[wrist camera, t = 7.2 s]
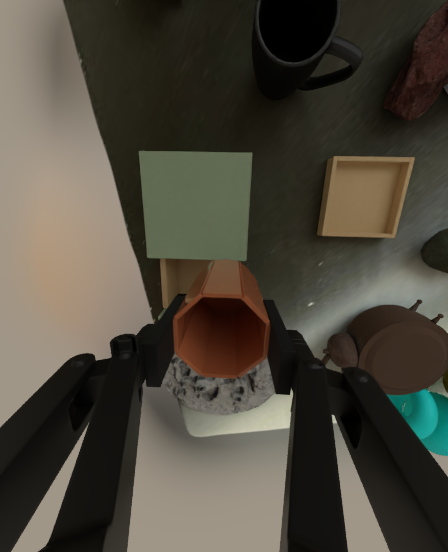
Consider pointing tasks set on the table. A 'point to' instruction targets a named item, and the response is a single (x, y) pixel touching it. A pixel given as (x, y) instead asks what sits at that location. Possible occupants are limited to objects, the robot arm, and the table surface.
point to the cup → (222, 322)
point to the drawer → (178, 277)
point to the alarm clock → (393, 348)
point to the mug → (298, 45)
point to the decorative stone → (436, 251)
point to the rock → (422, 70)
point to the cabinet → (196, 204)
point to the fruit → (445, 380)
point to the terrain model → (219, 388)
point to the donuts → (426, 418)
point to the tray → (363, 196)
